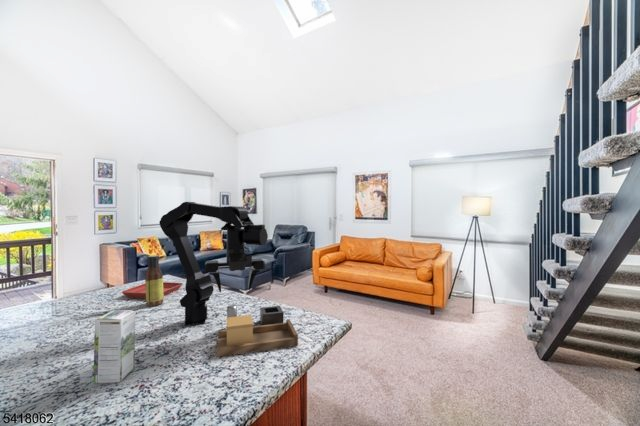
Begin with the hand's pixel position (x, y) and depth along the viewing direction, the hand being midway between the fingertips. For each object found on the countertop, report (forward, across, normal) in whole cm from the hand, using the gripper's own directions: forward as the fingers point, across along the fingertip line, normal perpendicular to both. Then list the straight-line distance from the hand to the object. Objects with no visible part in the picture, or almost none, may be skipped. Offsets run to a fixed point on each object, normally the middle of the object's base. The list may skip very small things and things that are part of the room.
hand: (234, 290), depth 92 cm
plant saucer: (+13, -31, +52) cm, 62 cm away
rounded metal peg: (+12, -1, -1) cm, 12 cm away
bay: (+12, +5, -13) cm, 18 cm away
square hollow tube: (+12, +12, -2) cm, 17 cm away
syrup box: (+12, -28, -19) cm, 36 cm away
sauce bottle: (+13, -28, +34) cm, 46 cm away
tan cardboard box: (+12, 0, -13) cm, 17 cm away
